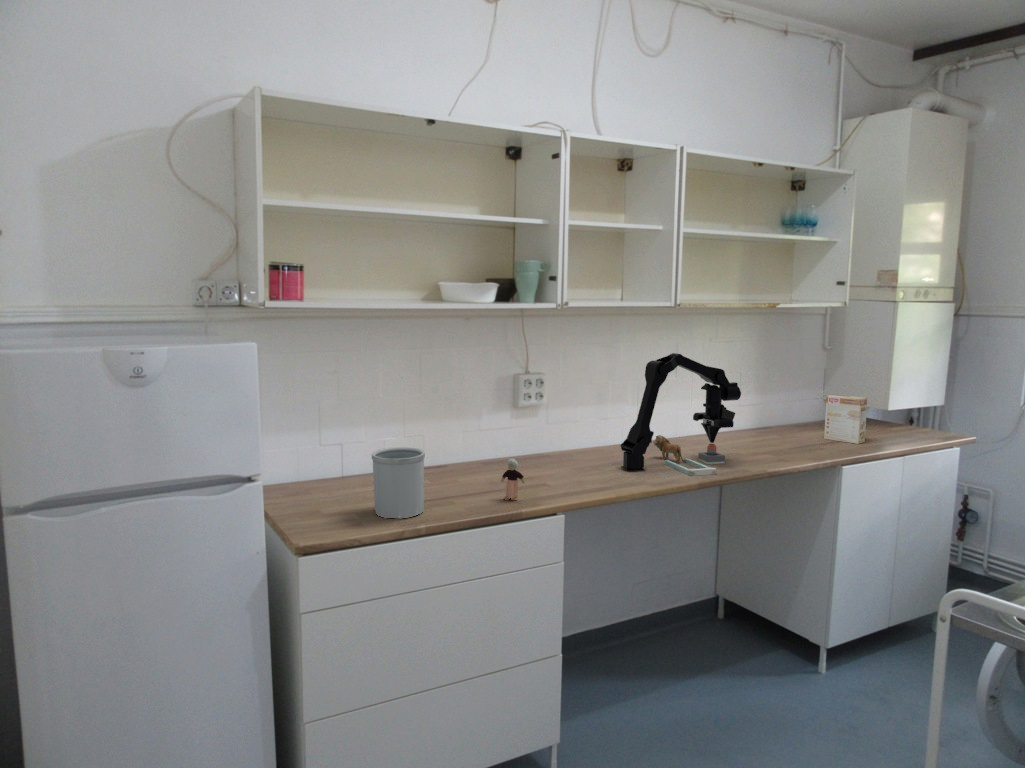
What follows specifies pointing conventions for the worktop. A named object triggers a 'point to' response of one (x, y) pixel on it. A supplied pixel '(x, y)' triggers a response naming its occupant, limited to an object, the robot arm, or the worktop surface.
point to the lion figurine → (668, 448)
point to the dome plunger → (711, 449)
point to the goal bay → (692, 472)
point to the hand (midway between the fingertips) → (711, 442)
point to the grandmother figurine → (512, 480)
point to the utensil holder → (398, 482)
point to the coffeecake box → (845, 418)
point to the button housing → (711, 458)
